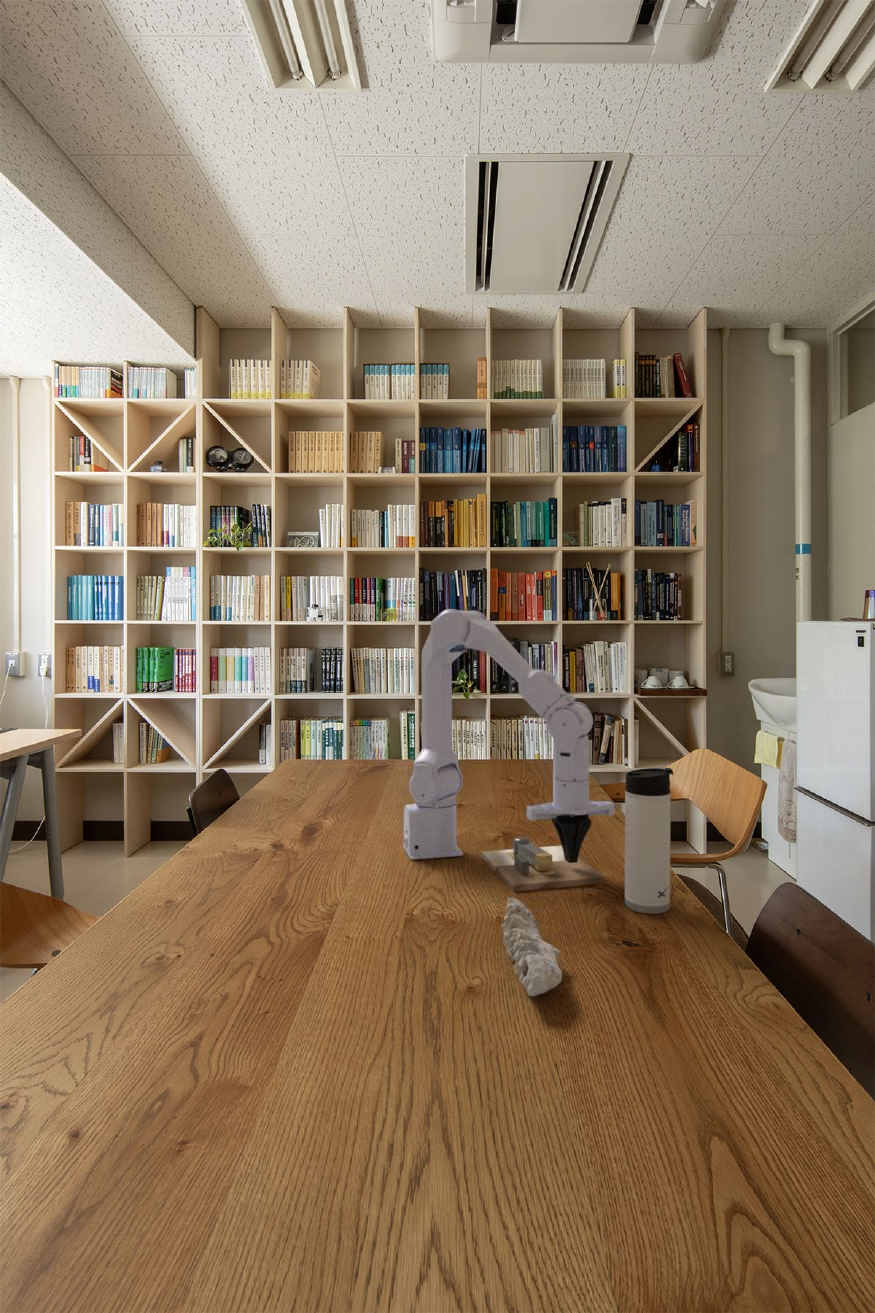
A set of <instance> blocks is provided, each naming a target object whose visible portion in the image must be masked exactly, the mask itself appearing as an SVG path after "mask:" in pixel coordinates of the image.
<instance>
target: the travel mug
mask: <svg viewBox="0 0 875 1313" xmlns="http://www.w3.org/2000/svg"><path fill="white" fill-rule="evenodd" d="M670 775H671V776H673V775H674V770H673V769H672V768H671V767H664V768H663V767H662V768H661V767H657V768H656V767H649V768H640V769H639V768H638V769H634V770H630V771H628V772H626V775H625V790H624V791H625V792H624V793H625V796H624V809H625V810H624V905H625V906H626V907H627V908H628V909H630V910H632V911H634V912H637V913H640V914H646V915H647V914H648V915H659V914H664V913H666V912H668V911H669V910H670V908H671V897H670V896H671V778H670Z"/></svg>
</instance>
